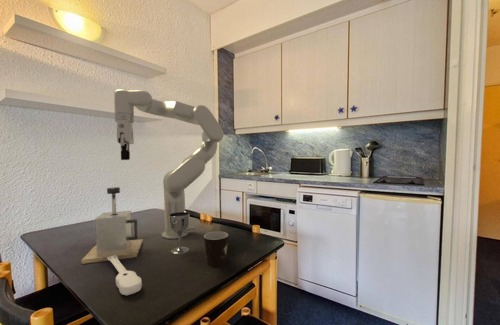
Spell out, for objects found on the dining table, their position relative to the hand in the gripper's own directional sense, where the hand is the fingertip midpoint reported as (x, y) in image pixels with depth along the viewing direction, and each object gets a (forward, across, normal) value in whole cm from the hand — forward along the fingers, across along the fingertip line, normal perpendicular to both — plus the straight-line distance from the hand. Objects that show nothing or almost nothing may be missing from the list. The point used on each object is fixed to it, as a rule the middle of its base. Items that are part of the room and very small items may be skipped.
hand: (125, 159), depth 104 cm
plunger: (+27, -11, +2) cm, 30 cm away
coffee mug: (+37, -34, -35) cm, 61 cm away
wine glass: (+37, -17, -23) cm, 47 cm away
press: (+37, -11, +2) cm, 39 cm away
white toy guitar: (+38, -34, -6) cm, 51 cm away
